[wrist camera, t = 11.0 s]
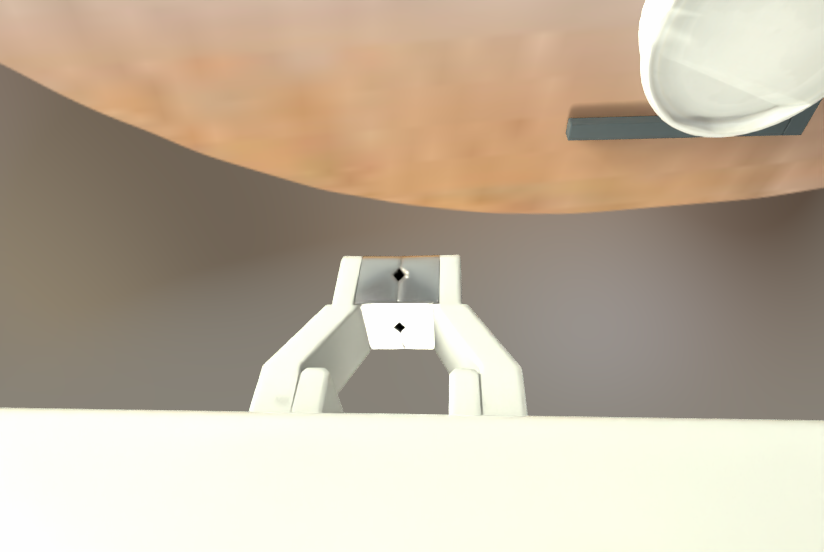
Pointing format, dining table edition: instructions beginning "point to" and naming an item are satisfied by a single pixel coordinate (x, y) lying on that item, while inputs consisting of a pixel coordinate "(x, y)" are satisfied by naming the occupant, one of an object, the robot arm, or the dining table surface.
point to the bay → (665, 127)
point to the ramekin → (731, 62)
